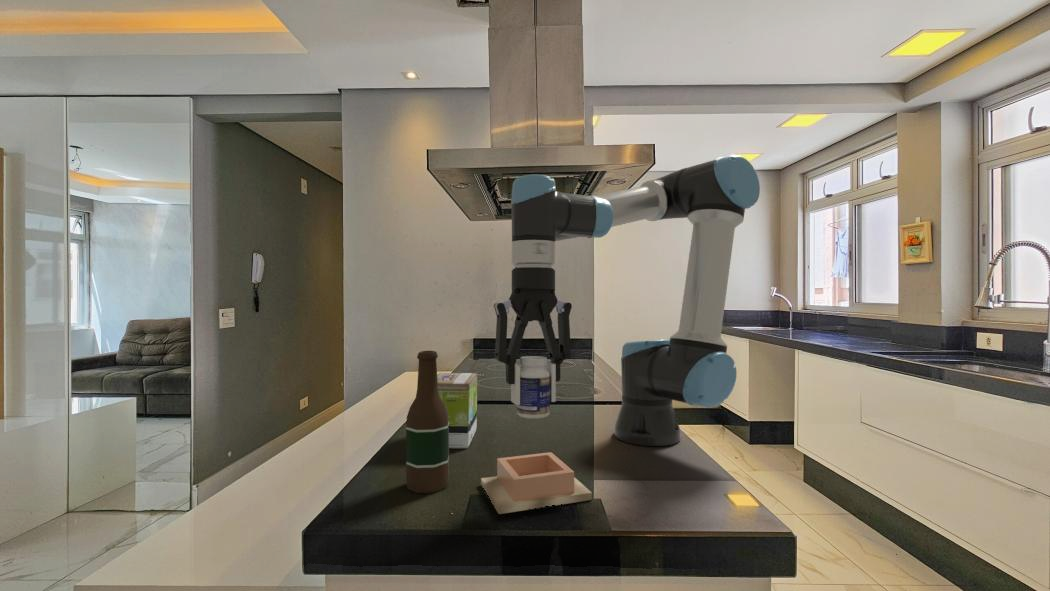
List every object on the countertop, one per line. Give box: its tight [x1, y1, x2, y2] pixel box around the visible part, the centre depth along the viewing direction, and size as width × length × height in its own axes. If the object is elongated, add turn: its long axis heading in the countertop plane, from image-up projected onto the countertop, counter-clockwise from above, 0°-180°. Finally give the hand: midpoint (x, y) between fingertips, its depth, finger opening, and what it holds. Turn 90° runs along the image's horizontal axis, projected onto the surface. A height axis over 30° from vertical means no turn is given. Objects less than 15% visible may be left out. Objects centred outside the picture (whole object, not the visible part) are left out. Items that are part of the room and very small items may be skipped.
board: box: [480, 475, 593, 515], centre depth 82 cm, size 16×12×1 cm
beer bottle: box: [405, 350, 450, 494], centre depth 85 cm, size 8×8×24 cm
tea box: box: [437, 372, 478, 449], centre depth 113 cm, size 15×10×15 cm, turn 179°
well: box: [496, 452, 575, 502], centre depth 82 cm, size 10×10×4 cm
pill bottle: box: [516, 355, 551, 419], centre depth 82 cm, size 6×6×10 cm
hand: (533, 401), depth 82 cm, fingers closed on pill bottle, 6 cm apart
